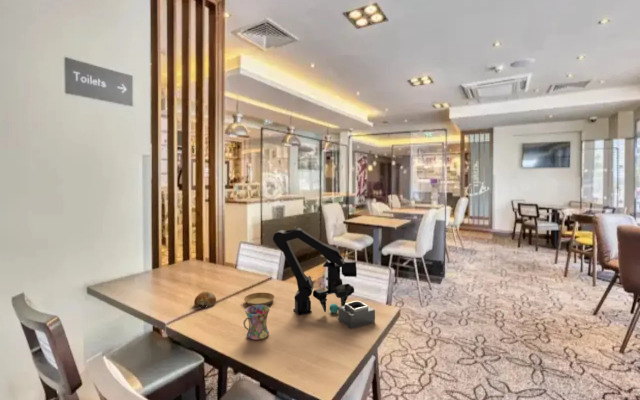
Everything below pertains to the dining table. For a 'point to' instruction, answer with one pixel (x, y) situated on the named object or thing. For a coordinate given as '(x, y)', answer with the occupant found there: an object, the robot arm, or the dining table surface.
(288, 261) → the robot arm
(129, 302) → the dining table surface
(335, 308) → the bead
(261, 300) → the plant saucer
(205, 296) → the brown rounded dome
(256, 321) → the mug
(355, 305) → the open metal box
